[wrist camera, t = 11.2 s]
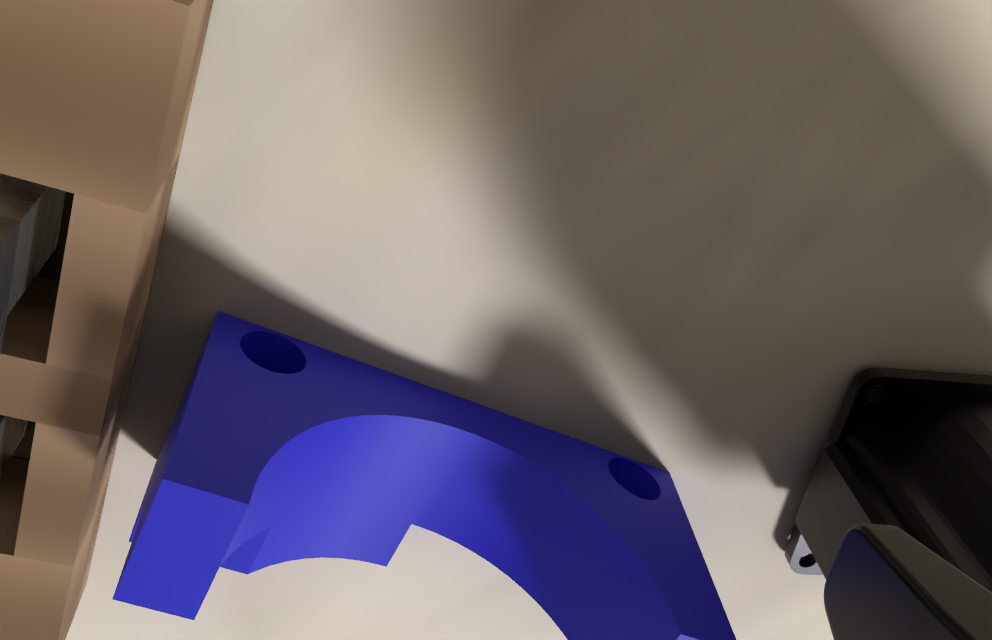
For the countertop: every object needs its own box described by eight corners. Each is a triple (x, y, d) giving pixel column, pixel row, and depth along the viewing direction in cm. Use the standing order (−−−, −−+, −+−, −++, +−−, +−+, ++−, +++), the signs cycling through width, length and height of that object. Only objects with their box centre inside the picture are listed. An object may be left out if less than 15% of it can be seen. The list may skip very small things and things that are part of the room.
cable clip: (158, 454, 23) (89, 652, 18) (219, 306, 21) (162, 479, 16) (583, 585, 26) (630, 782, 21) (667, 468, 25) (740, 652, 19)
